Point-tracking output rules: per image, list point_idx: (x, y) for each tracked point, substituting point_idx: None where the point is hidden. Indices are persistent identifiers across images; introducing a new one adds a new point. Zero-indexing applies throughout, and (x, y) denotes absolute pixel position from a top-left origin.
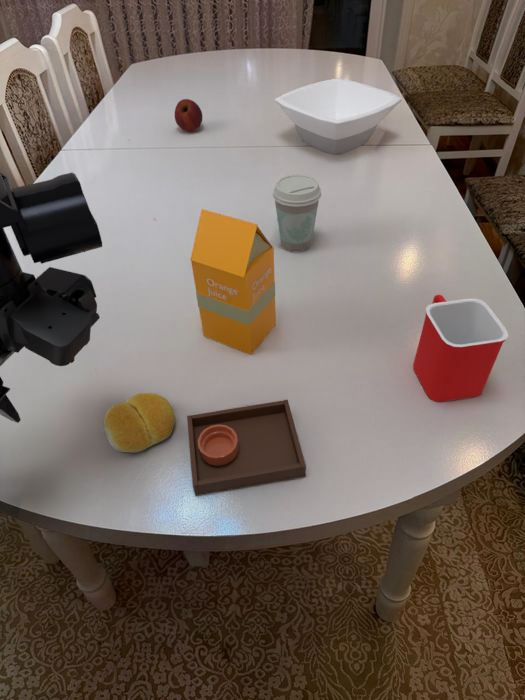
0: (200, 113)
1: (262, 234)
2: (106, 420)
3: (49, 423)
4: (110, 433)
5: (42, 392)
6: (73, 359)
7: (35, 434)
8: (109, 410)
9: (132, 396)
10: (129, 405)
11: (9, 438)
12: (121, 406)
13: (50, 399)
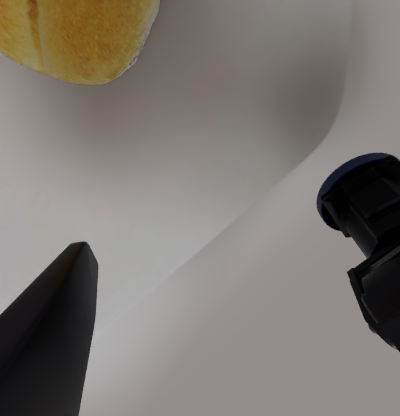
0: None
1: None
2: (123, 54)
3: (181, 182)
4: (148, 9)
5: (138, 237)
6: (71, 249)
7: (211, 185)
8: (94, 71)
9: (10, 54)
10: (38, 29)
11: (236, 211)
12: (60, 43)
13: (141, 217)
